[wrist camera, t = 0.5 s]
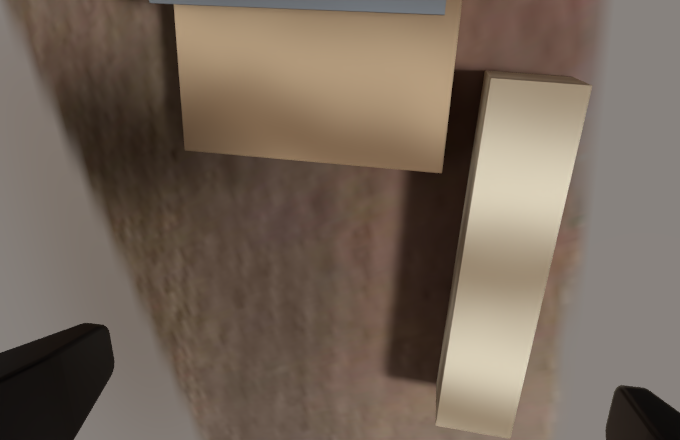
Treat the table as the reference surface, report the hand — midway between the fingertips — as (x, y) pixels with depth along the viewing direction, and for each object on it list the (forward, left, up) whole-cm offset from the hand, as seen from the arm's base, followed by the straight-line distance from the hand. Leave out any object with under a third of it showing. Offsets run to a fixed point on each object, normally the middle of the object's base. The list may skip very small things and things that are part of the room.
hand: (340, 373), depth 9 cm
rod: (-3, -4, -13) cm, 14 cm away
